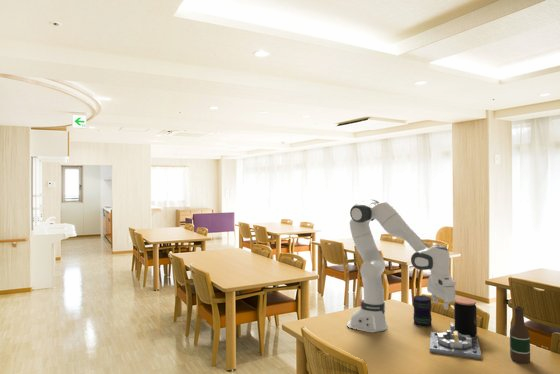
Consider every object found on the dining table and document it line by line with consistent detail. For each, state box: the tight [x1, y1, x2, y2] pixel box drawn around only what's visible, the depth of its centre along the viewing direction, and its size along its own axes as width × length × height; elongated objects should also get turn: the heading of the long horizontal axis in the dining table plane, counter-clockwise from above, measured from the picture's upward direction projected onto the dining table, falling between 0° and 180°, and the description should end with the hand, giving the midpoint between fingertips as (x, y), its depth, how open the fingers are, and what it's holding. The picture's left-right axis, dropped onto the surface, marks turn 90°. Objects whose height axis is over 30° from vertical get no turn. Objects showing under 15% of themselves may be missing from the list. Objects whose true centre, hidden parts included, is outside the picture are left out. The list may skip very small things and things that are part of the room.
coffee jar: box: [453, 297, 478, 337], centre depth 206 cm, size 11×11×18 cm
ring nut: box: [436, 322, 472, 349], centre depth 191 cm, size 18×15×6 cm
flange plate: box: [429, 331, 482, 360], centre depth 191 cm, size 22×22×6 cm
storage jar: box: [412, 295, 433, 328], centre depth 223 cm, size 10×10×15 cm
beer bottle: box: [509, 305, 531, 364], centre depth 175 cm, size 8×8×24 cm
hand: (440, 306), depth 193 cm, fingers open, 8 cm apart
